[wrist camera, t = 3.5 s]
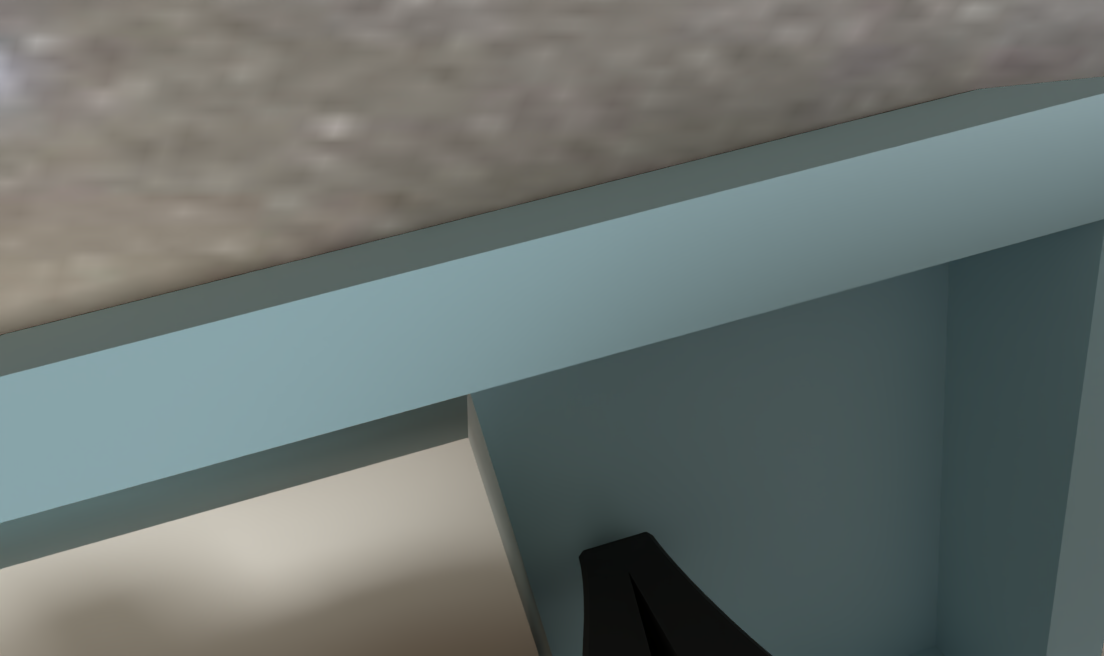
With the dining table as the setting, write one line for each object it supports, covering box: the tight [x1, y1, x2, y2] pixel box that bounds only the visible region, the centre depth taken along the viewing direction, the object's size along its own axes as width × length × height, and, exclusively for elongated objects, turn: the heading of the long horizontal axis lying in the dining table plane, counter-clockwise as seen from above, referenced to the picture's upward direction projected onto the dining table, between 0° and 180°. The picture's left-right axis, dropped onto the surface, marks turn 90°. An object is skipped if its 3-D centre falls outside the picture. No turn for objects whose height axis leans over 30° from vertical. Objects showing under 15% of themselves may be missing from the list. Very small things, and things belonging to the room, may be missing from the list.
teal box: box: [0, 77, 1104, 656], centre depth 10 cm, size 20×14×3 cm
